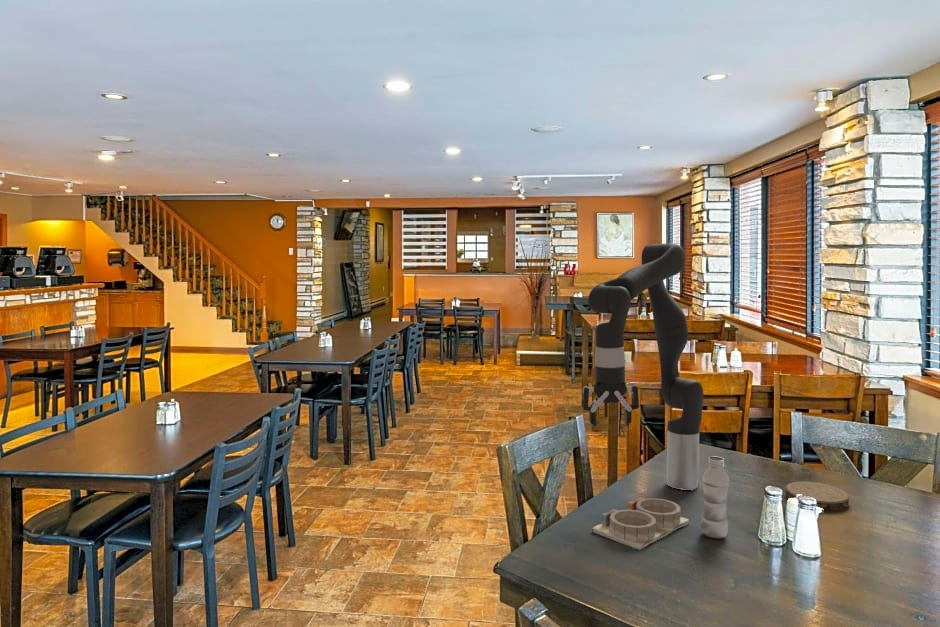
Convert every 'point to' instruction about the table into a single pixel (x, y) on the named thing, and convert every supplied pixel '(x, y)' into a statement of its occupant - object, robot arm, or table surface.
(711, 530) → the plastic bottle
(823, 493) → the brown round disc
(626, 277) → the robot arm
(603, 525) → the bottle stand
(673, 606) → the table surface
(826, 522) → the table surface
